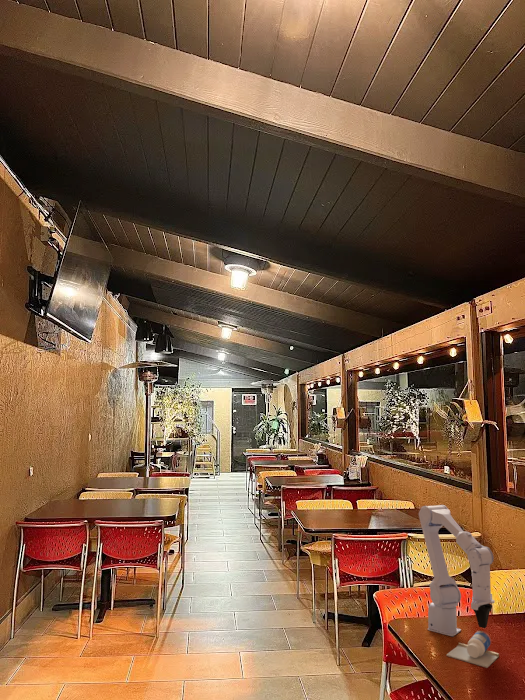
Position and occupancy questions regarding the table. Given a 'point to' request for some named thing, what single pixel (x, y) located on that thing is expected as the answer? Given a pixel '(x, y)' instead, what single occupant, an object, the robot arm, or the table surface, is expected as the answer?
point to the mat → (463, 655)
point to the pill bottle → (478, 644)
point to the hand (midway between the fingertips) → (482, 627)
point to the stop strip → (485, 651)
